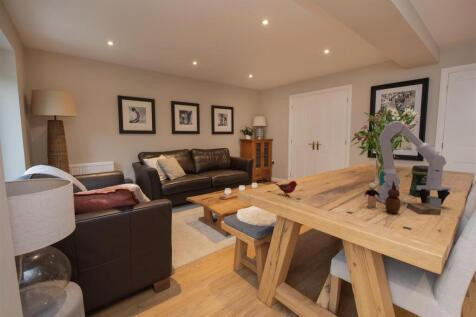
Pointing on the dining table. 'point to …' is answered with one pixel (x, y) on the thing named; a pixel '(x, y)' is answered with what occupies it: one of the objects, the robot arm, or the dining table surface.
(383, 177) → the beverage can
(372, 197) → the grandmother figurine
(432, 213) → the walnut block
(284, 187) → the decorative bird figurine
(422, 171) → the coffee jar
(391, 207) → the wooden figurine
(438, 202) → the slate cube
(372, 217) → the dining table surface
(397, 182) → the robot arm
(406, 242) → the dining table surface
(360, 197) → the dining table surface
